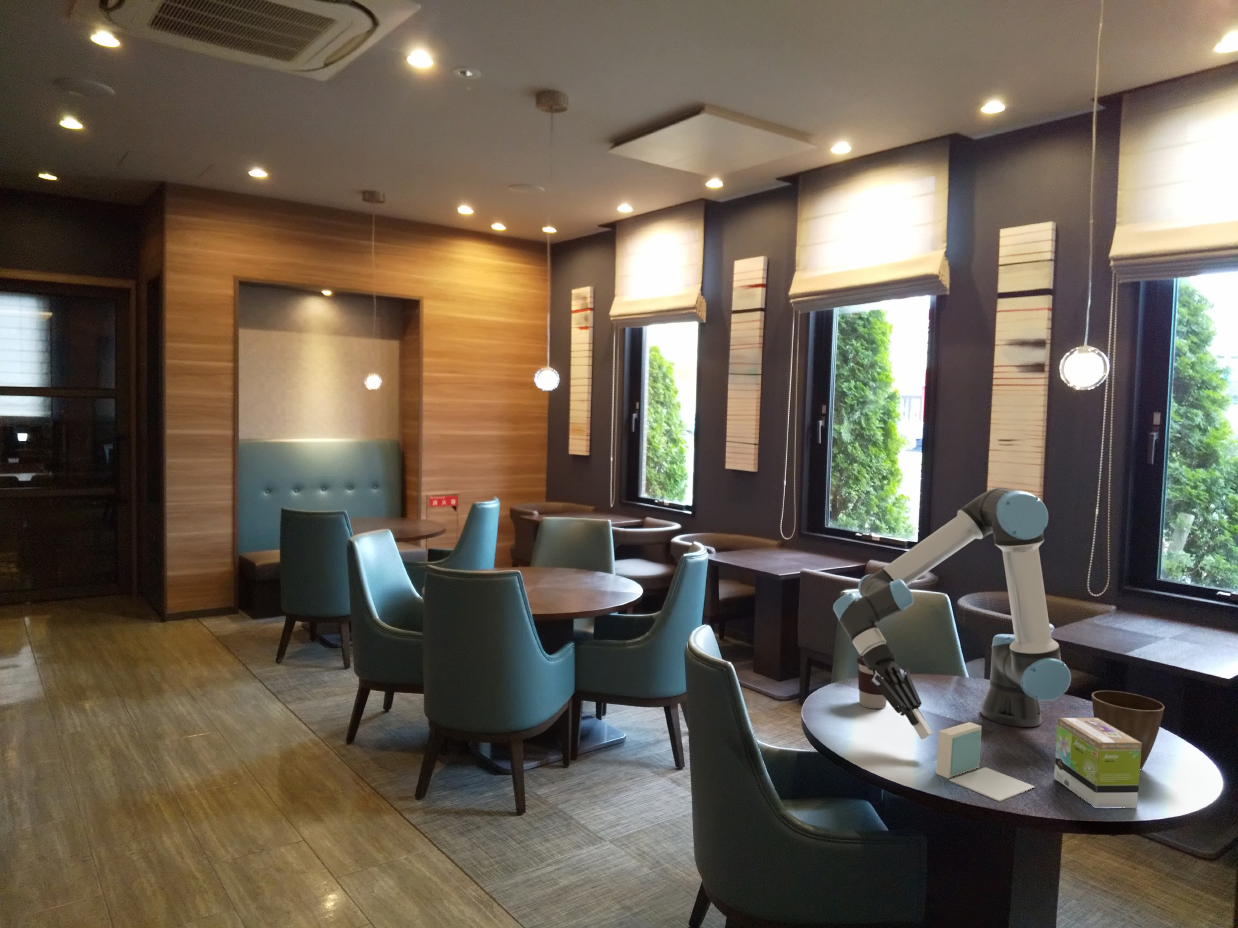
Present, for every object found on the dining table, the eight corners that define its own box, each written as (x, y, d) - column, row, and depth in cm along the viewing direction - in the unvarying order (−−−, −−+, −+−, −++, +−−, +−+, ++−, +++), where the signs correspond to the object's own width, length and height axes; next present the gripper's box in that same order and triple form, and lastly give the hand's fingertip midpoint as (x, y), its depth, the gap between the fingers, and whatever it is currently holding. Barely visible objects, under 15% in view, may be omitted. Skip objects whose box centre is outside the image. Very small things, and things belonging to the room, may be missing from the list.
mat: (985, 768, 197) (985, 766, 197) (1035, 787, 188) (1035, 786, 188) (949, 780, 189) (949, 779, 189) (999, 801, 180) (999, 800, 180)
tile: (967, 763, 200) (969, 721, 200) (980, 768, 197) (983, 726, 197) (936, 773, 193) (939, 730, 193) (949, 779, 191) (952, 735, 190)
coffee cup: (892, 712, 234) (895, 659, 233) (855, 708, 236) (858, 655, 235) (888, 701, 244) (891, 649, 243) (853, 697, 246) (856, 646, 245)
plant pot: (1073, 757, 206) (1077, 693, 206) (1114, 750, 213) (1118, 687, 212) (1132, 782, 193) (1137, 713, 192) (1173, 773, 199) (1178, 706, 198)
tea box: (1051, 779, 193) (1056, 715, 192) (1093, 779, 194) (1098, 716, 193) (1094, 809, 178) (1099, 740, 177) (1139, 809, 179) (1144, 741, 178)
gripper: (881, 654, 221) (933, 738, 208) (848, 660, 214) (899, 748, 201) (899, 639, 217) (953, 724, 204) (866, 645, 209) (919, 733, 196)
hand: (926, 736), depth 202 cm, fingers closed
